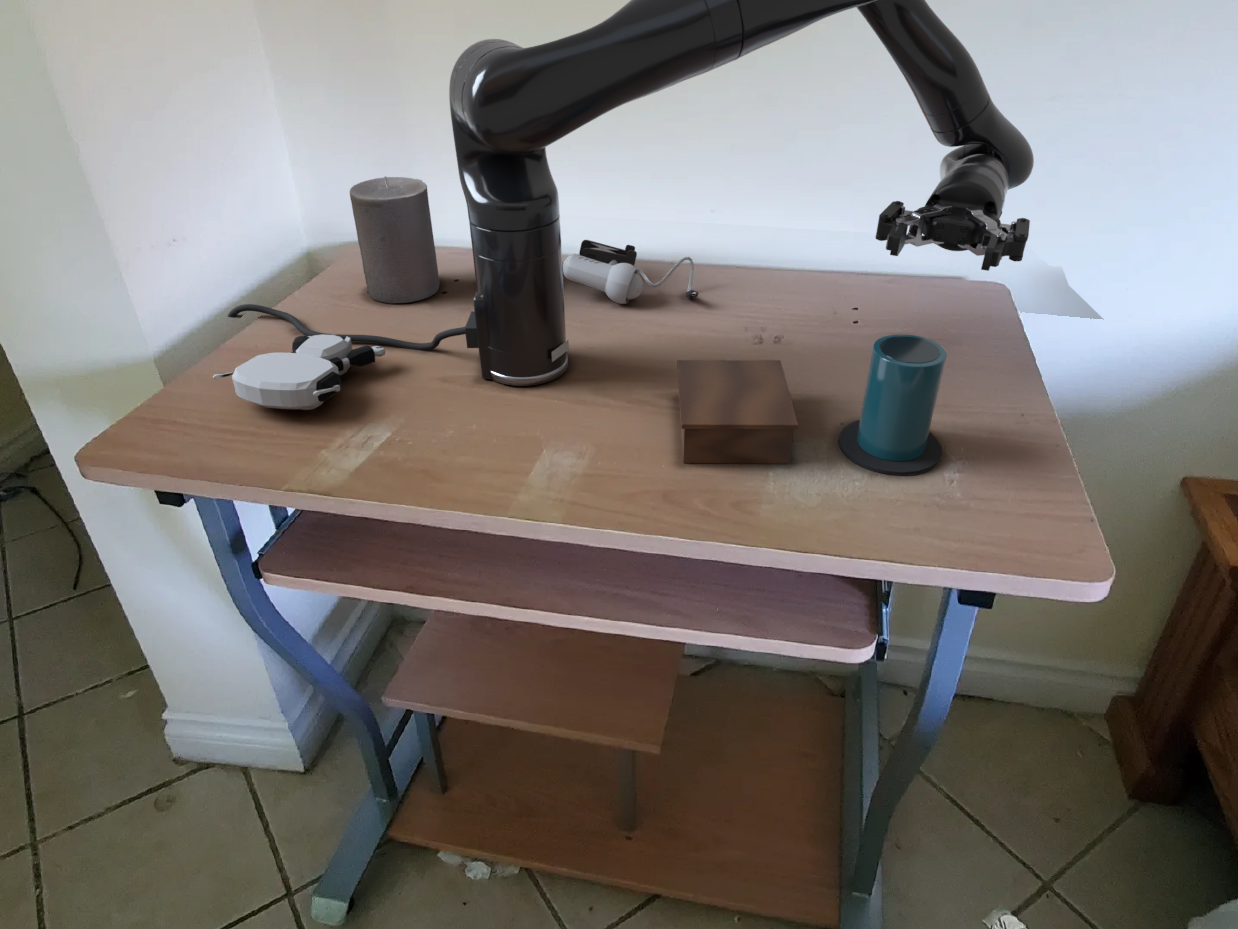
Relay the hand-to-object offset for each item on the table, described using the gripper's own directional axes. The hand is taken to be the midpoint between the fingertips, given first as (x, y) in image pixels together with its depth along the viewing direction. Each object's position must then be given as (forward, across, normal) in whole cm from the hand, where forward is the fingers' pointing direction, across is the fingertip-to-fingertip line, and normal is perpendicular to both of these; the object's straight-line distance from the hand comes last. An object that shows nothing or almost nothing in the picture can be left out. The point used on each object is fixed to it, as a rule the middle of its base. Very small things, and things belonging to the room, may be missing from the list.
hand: (940, 253), depth 82 cm
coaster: (+11, 0, +16) cm, 19 cm away
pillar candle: (0, -67, +16) cm, 69 cm away
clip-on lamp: (-12, -38, +16) cm, 43 cm away
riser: (+14, -15, +16) cm, 26 cm away
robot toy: (+26, -59, +16) cm, 66 cm away
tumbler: (+11, 0, +15) cm, 19 cm away
